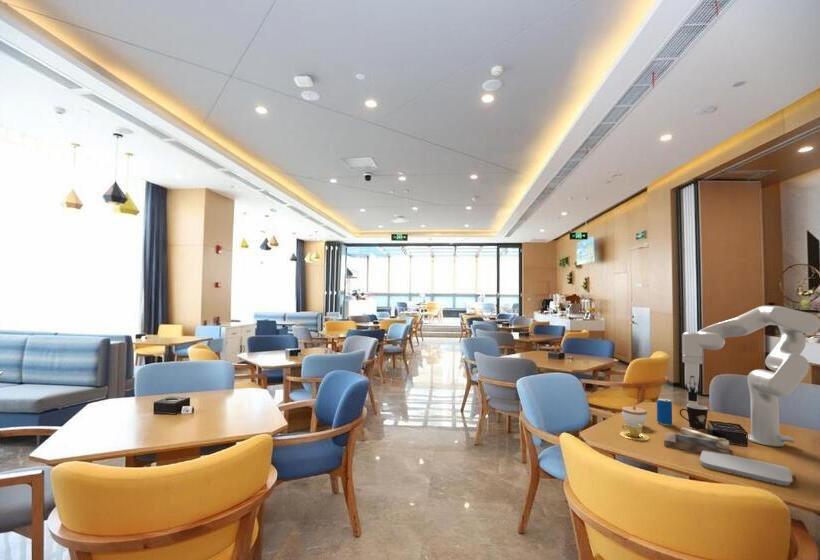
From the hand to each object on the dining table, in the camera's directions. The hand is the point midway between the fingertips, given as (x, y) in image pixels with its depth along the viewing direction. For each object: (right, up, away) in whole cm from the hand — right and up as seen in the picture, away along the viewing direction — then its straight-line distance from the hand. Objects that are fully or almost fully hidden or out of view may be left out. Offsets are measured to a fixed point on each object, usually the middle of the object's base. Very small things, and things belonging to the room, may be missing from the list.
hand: (692, 399), depth 183 cm
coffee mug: (+11, -18, +15) cm, 26 cm away
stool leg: (-4, -14, -13) cm, 19 cm away
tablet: (-4, -17, -33) cm, 38 cm away
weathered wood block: (-7, -17, -12) cm, 22 cm away
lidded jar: (-17, -18, +17) cm, 30 cm away
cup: (-26, -18, +1) cm, 32 cm away
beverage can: (-1, -18, +19) cm, 27 cm away
